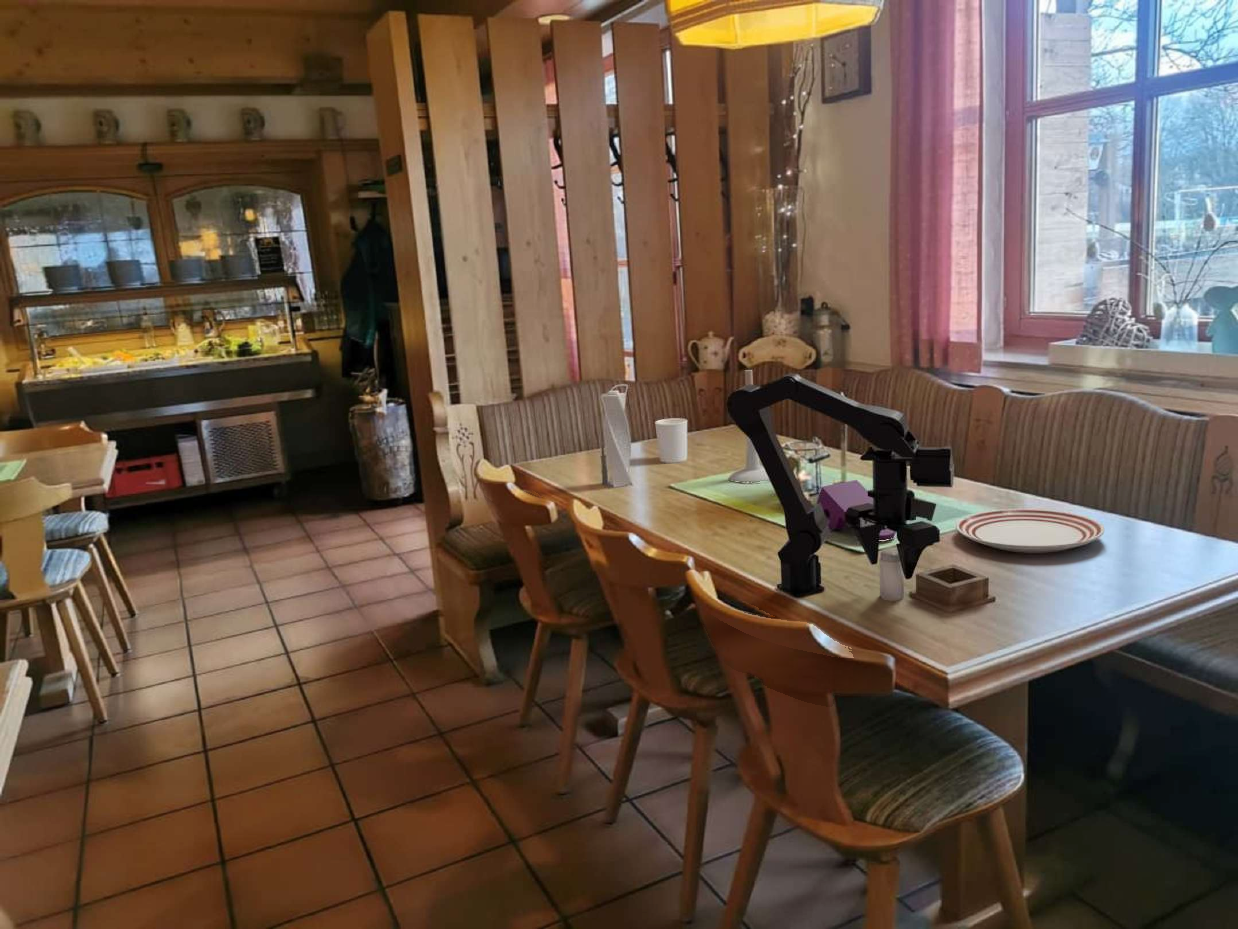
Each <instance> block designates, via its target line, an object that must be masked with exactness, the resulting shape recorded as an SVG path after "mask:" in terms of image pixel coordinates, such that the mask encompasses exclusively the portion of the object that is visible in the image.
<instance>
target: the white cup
mask: <svg viewBox="0 0 1238 929" xmlns="http://www.w3.org/2000/svg"><path fill="white" fill-rule="evenodd" d="M654 424H655V432H656V433H655V434H656V442H657V449H658V456H659V460H660V462H661V463H664V462H665V464H666V463H667V464H675V463H676V464H677V462H678V463H682V462H685V461H687V460H688V419H686V418H682V417H680V418H679V417H677V418H676V417H675V418H662V419H658V420H656V421H655V422H654Z"/></svg>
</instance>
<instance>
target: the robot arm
mask: <svg viewBox="0 0 1238 929" xmlns="http://www.w3.org/2000/svg"><path fill="white" fill-rule="evenodd" d="M784 400H790V401H792V402H795V403H798V404H799V405H801V406H804V407H806V408H808V409H811V410H812V411H813V410H814V411H815V412H818V413H819V414H821V415H824V416H826V417H829V418H830V419H833V420H835V421H838V422H840V423H842V424H845V425H846V426H848V427H850V428H851V429H852V430H854V431H855V432H856V433H857V434H858V435H859V436H861V438H863V439H865V440H866V441H867V442H869V443H871V444H870V445H869V447H868V449H867V450H866V451H864V452H863V454H861V456H860V457H859V459H860V460H861V461H863V462H864V461H866V462H870V461H872V465H871V466H872V489H870V490H869V489H868V490H867V491H868V496H869V497H872V498H873V504H870V503H866V504H862V505H857V506H852V507H849V508H848V509H847V510H846V512H845V523H848V524H850V526H848V527H849V529H850V530H852V532H853V533H854V535H855V537H856V539H857V541H858V542H859V543H860V546H861V547H862V549H863V551H864V554H866V557H867V559H868V561H869V563H870V564H871V565H877V564H878V559H879V551H880V550H879V547H880V546H879V545H880V542H879V534H880V532H881V530H882V529H883V527H884V528H887V529H889V530H892V531H895V532H896V539H897V541H898V542H899V543H896V544H895V546H896V549H897V550H896V551H898V554H899V558H900V562H901V566H902V570H903V577H904V580H905V579H906V580H910V579H912V578H913V575H914V572H915V571H916V568H917V564H918V561H919V560H920V557H921V555H922V553H923V551H924V550H925V549H926V548H928V547H931V546H933V545H934V544H936V543H940V541H941V540H940V539H941V537H940V536H941V530H940V529H939V528H938V526H936V525H934V524H933V523H929V522H926V521H923V520H922V521H921V520H920V521H917V518H920V519H921V518H922V519H926V520H927V521H931V522H932V521H933V519H934V514H935V511H936V507H937V503H935V502H932V501H929V500H925V499H922V498H919V497H916V495H915V492H914V491H913V490H911V489H908V463H909V480H911V481H912V483H913V484H916V486H917V487H922V488H923V487H926V488H927V487H931V488H953V487H954V478H955V462H954V457H953V447H952V446H948V445H946V446H937V447H934V446H922V445H921V442H919V440H918V439H917V438H916V437H915V435H914V434H913V433H912V431H911V430H910V427H909V421H908V419H907V417H906V415H904V413H902V412H900V411H898V410H894V409H891V408H886V407H882V406H877V405H870V404H864V403H861V402H858V401H856V400H854V399H852V398H849V397H847V396H844V395H842V394H840V393H837V392H835V391H833V390H831V389H829V388H826V387H824V386H822V385H819V384H817V383H815V382H812V381H810V380H807V379H806V378H803V377H802V376H800V375H799V374H798V373H793V372H792V373H787V374H785V375H784V376H782V377H779V378H777V379H775V380H772V381H769V382H766V383H764V384H761V385H755V384H753V385H751V384H749V385H746V386H745V385H743V386H742V387H740V388H738V389H736V390H734V391H733V392H731V393H730V395H729V396H728V397H727V400H726V404H725V408H726V411H727V414H728V415H729V417H730V418H731V420H732V421H733V422H734V424H735V425H736V427H737V428H738V429H739V430H740V431H741V432H742V433H743V434H744V435H745V436H746V438H747V437H748V438H749V439H750V440H751V442H752V444H753V446H754V448H755V450H756V452H757V454H758V457H759V462H760V463H761V465H762V467H763V468H764V469H765V471H766V473H767V476H768V478H769V480H770V484H771V486H772V488H773V489H774V492H775V495H776V496H777V499H778V500H779V503H780V505H781V507H782V510H783V513H784V514H783V515H784V523H785V530H786V534H787V537H788V539H787V541H786V542H785V544H784V545H783V546H782V547H781V548H780V550H779V551H778V552H777V557H778V559H779V561H780V578H781V580H780V583H777V584H776V587H777V589H779V590H781V591H783V592H784V593H787V594H789V595H791V596H792V597H794V598H798V597H802V596H803V597H804V596H806V595H810V594H814V593H815V594H816V593H819V592H824V591H825V586H823V585H822V564H821V562H820V561H819V560H820V558H819V555H817V553H818V551H819V550H820V549H821V547H822V546H823V544H824V543H825V542H826V541H827V539H828V537H829V534H830V531H829V527H828V524H829V523H830V520H829V519H828V518H827V517H826V516H825V514H824V511H823V507H822V505H821V503H818V504H817V503H816V504H817V505H816V504H815V505H814V504H812V502H810V501H809V500H808V499H807V497H806V495H805V493H804V491H803V489H802V487H801V485H800V483H799V481H798V479H797V477H796V475H795V472H794V470H793V468H792V466H791V463H790V462H789V460H788V458H787V457H788V456H786V453H785V451H784V449H783V447H782V445H781V443H780V439H778V436H777V434H776V432H775V428H774V427H773V426H774V424H773V418H772V410H771V407H770V406H773V405H775V404H778V403H780V402H783V401H784ZM908 521H909V522H911V523H908ZM913 521H914V522H913ZM915 521H916V522H915Z"/></svg>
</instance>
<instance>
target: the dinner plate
mask: <svg viewBox="0 0 1238 929" xmlns="http://www.w3.org/2000/svg"><path fill="white" fill-rule="evenodd" d="M955 529H956V531H958V532H959V533H960V534H961V535H963V536H964V537H967V539H970V540H971V541H974V542H977V543H979V544H982V545H985V546H988V547H991V548H994V549H997V548H998V549H997V550H1002V551H1007V552H1013V551H1014V552H1013V553H1021V552H1023V554H1024V553H1025V554H1045V553H1046V554H1048V553H1055V552H1061V551H1065V550H1070V549H1073V548H1077V547H1081V546H1084V545H1087V544H1089V543H1092V542H1093V541H1096V540H1097V539H1099V538H1100V537H1102V535H1104V533H1105V526H1104V525H1103V524H1102V523H1101V522H1099V521H1098V520H1095V519H1093V518H1091V517H1087V516H1085V515H1082V514H1077V513H1074V512H1073V513H1072V512H1067V511H1062V510H1055V509H1040V508H1038V509H1037V508H1006V509H1005V508H1004V509H995V510H987V511H981V512H977V513H973V514H969V515H966V516H964V517H962V518H961V519H959V520H958V521H957V522H956V524H955Z"/></svg>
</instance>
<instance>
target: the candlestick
mask: <svg viewBox="0 0 1238 929" xmlns="http://www.w3.org/2000/svg"><path fill="white" fill-rule="evenodd" d="M753 377H754V376H753V370H752V369H749V368H747V369H746V370H744V383H745V385H744V386H746V385H749V384H751V385H754V380H753ZM745 455H746V457H745V458H746V459H745V460H746V461H745V462H746V464H745V465H746V466H745V467H744V468H740V469H738V470H736V471H734V472H732V473H731V474H730V475H729V480H730V479H731V480H733V481H739V482H745V483H746V482H749V483H751V482H752V483H754V482H760V481H768V480H769V478H768V476H767V473H766V471H765V469H764V467H763V466H761V464H760V459H759V457H758V454H757V452H756V450H755V448H754V446H753V444H752V442H751V440H750V439H749V438H748V437H747V436H746V454H745ZM731 480H730V481H731ZM733 481H732V482H733Z"/></svg>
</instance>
